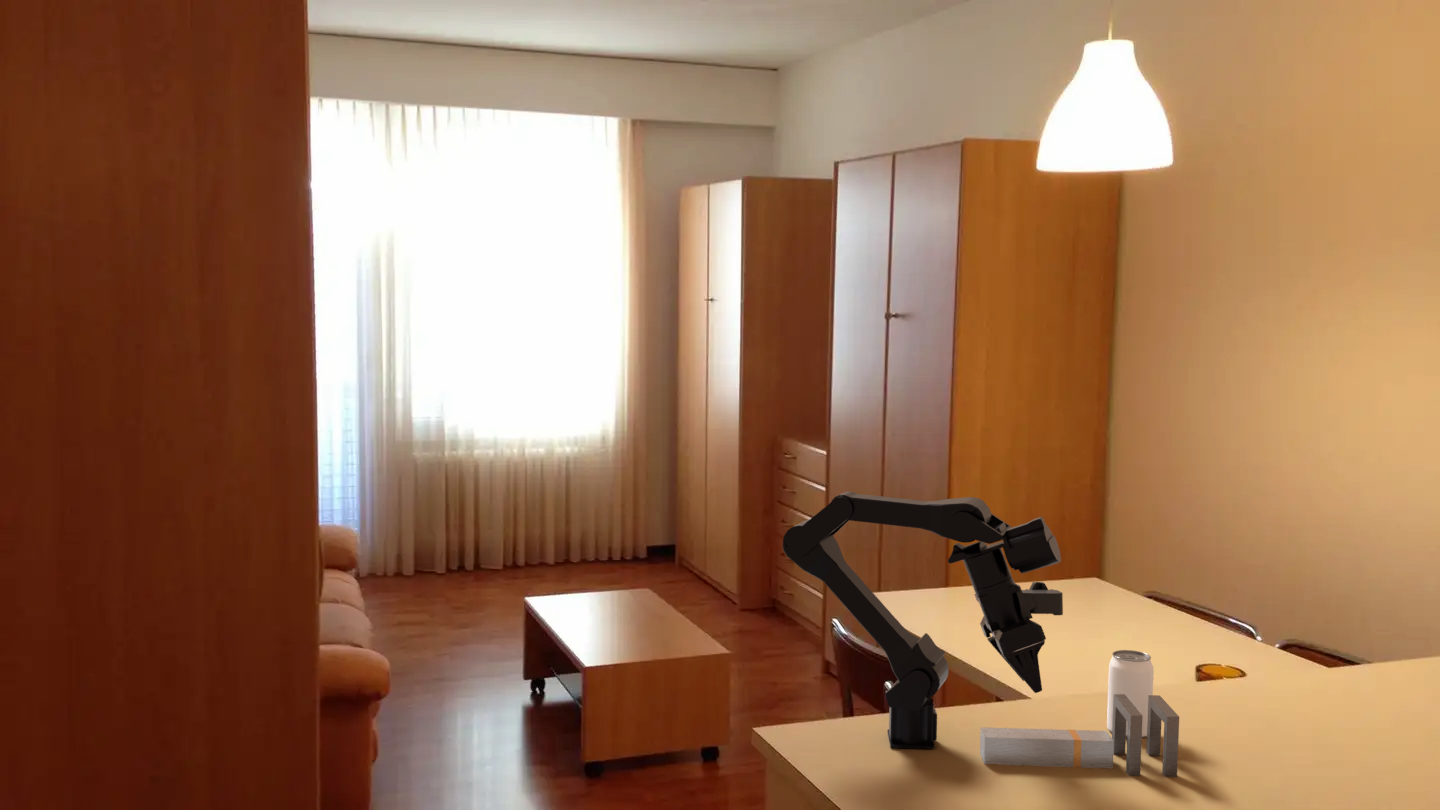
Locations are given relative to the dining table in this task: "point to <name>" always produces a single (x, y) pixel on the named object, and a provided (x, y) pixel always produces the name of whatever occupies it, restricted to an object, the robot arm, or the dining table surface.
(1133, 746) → the collar
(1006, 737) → the grey banded block
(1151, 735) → the collar
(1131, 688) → the can
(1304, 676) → the dining table surface
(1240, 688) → the dining table surface
